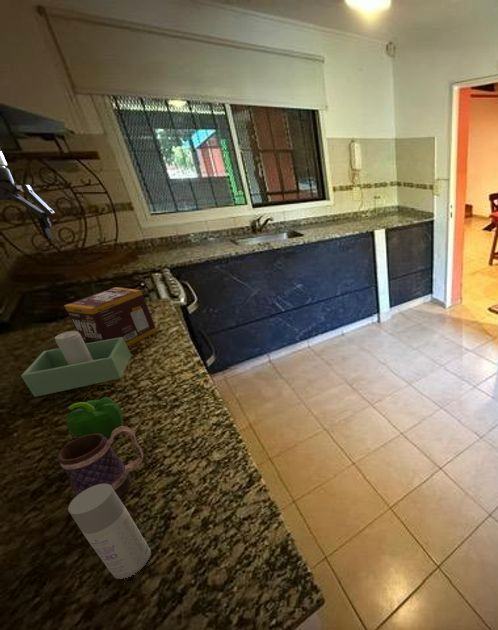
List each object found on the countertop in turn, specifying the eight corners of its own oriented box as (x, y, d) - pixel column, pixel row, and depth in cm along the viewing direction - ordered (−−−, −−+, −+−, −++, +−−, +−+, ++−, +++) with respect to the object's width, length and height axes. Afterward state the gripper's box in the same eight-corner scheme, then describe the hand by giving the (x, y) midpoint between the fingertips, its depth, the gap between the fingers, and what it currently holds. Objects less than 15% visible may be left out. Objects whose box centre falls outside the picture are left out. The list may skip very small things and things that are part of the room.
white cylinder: (74, 380, 92) (53, 341, 86) (75, 371, 95) (55, 334, 90) (97, 373, 94) (78, 335, 89) (98, 365, 98) (79, 328, 92)
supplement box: (85, 351, 106) (62, 305, 99) (133, 328, 119) (116, 286, 112) (111, 355, 103) (89, 309, 96) (157, 331, 117) (141, 289, 110)
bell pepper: (135, 418, 80) (118, 383, 75) (122, 444, 73) (102, 407, 68) (90, 427, 77) (70, 392, 73) (72, 455, 70) (48, 418, 66)
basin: (34, 397, 86) (20, 375, 83) (54, 370, 96) (43, 351, 93) (121, 378, 93) (111, 358, 90) (131, 355, 103) (123, 336, 101)
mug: (84, 518, 58) (51, 469, 53) (82, 491, 63) (51, 443, 58) (156, 482, 65) (133, 435, 59) (150, 459, 69) (127, 414, 64)
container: (111, 587, 49) (63, 522, 43) (113, 558, 53) (69, 494, 46) (151, 566, 52) (112, 501, 45) (151, 540, 55) (114, 476, 48)
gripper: (-85, 165, 92) (-46, 244, 100) (40, 167, 103) (67, 238, 110) (-65, 166, 98) (-29, 241, 106) (51, 168, 109) (76, 235, 117)
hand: (20, 240), depth 108 cm, fingers open, 13 cm apart
